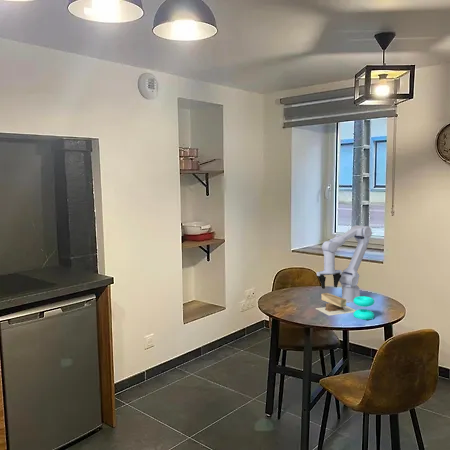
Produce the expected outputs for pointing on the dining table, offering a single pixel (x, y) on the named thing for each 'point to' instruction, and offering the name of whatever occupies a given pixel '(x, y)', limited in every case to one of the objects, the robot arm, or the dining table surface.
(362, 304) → the donuts
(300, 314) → the dining table surface
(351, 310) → the board
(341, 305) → the bar
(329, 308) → the block
